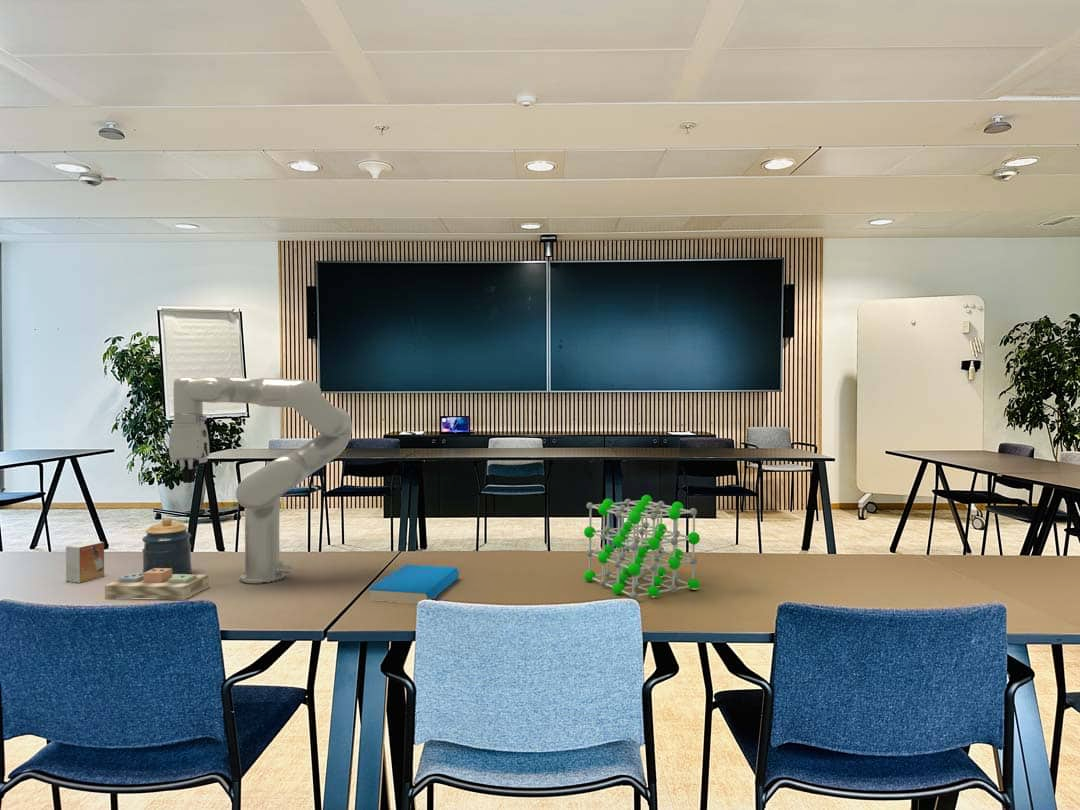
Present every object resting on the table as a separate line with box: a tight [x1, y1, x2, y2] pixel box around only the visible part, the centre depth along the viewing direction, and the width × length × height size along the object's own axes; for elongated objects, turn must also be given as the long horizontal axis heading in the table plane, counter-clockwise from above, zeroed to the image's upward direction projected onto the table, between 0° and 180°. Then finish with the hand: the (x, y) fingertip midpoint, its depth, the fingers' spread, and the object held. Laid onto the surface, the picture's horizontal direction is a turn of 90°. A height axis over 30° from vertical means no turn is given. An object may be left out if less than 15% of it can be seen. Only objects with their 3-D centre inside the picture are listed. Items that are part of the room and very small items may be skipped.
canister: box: [141, 517, 192, 574], centre depth 205 cm, size 13×13×18 cm
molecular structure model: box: [583, 494, 701, 600], centre depth 195 cm, size 24×25×24 cm
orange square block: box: [144, 568, 172, 583], centre depth 188 cm, size 5×5×3 cm
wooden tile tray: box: [104, 572, 210, 601], centre depth 188 cm, size 22×12×4 cm, turn 87°
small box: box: [65, 540, 105, 584], centre depth 201 cm, size 8×6×10 cm
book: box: [368, 564, 460, 603], centre depth 191 cm, size 17×4×25 cm
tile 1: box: [168, 573, 197, 584], centre depth 187 cm, size 5×5×3 cm
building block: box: [118, 572, 144, 583], centre depth 188 cm, size 5×5×3 cm
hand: (189, 482), depth 199 cm, fingers closed
